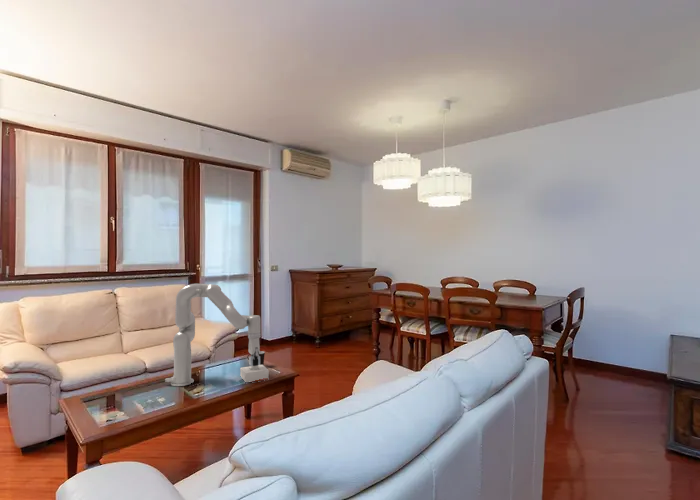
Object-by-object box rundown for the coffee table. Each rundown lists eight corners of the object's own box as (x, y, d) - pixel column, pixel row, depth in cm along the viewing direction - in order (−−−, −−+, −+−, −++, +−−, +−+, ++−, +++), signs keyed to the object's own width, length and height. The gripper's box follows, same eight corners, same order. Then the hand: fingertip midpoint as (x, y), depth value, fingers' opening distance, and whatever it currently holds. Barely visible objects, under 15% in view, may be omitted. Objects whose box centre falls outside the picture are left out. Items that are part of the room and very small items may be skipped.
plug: (250, 374, 223) (250, 358, 223) (249, 372, 227) (249, 356, 227) (260, 372, 226) (260, 356, 226) (258, 371, 229) (258, 355, 230)
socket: (245, 383, 217) (245, 373, 217) (240, 377, 229) (240, 367, 229) (268, 379, 223) (268, 369, 223) (262, 373, 236) (262, 364, 236)
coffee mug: (267, 366, 252) (267, 352, 253) (258, 369, 245) (258, 354, 245) (255, 364, 258) (255, 350, 259) (246, 367, 251) (246, 352, 252)
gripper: (245, 333, 233) (245, 362, 232) (251, 338, 218) (251, 368, 217) (256, 332, 236) (257, 360, 236) (263, 336, 222) (264, 367, 221)
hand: (254, 364), depth 226 cm, fingers closed on plug, 4 cm apart
